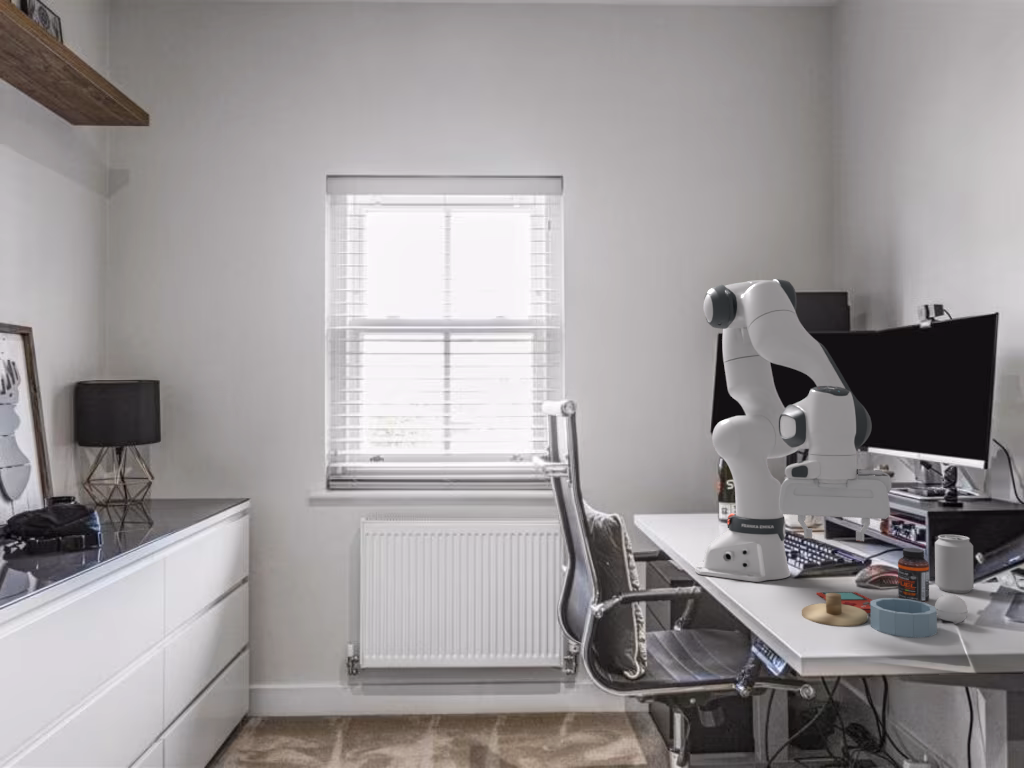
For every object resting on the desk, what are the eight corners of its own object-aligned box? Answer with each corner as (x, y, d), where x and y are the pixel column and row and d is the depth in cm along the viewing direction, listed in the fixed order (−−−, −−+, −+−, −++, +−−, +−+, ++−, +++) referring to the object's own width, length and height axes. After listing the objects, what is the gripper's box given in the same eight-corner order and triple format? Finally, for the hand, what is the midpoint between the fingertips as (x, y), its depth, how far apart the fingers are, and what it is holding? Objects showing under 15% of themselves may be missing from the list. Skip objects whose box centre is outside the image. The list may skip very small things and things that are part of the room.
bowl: (871, 638, 146) (870, 610, 146) (870, 621, 156) (870, 595, 156) (938, 645, 141) (938, 617, 141) (933, 627, 151) (933, 601, 151)
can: (978, 594, 174) (978, 540, 174) (941, 593, 176) (941, 539, 176) (966, 586, 182) (965, 533, 182) (930, 584, 183) (930, 532, 183)
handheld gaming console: (846, 608, 158) (815, 591, 173) (846, 614, 158) (815, 596, 173) (891, 608, 159) (856, 591, 174) (891, 614, 159) (856, 596, 174)
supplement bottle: (892, 602, 169) (892, 549, 169) (905, 597, 173) (904, 545, 173) (922, 608, 164) (921, 553, 164) (934, 603, 168) (933, 549, 168)
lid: (799, 623, 153) (798, 601, 153) (803, 605, 164) (802, 584, 164) (867, 629, 148) (867, 606, 148) (867, 609, 159) (866, 588, 159)
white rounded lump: (932, 617, 158) (932, 589, 158) (965, 620, 156) (965, 592, 156) (937, 629, 151) (937, 599, 151) (972, 632, 149) (971, 602, 149)
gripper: (890, 468, 155) (892, 539, 155) (780, 466, 163) (781, 533, 163) (891, 471, 149) (893, 545, 149) (777, 469, 157) (778, 539, 157)
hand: (833, 539), depth 156 cm, fingers open, 8 cm apart
